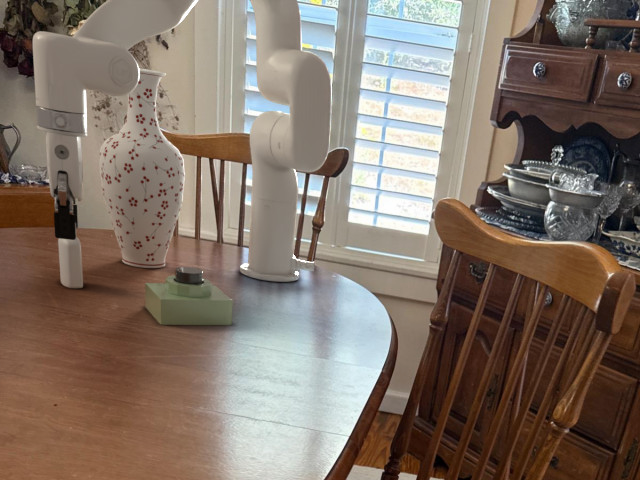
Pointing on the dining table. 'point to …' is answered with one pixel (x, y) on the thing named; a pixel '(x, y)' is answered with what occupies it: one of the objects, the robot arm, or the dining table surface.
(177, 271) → the dark grey button cap
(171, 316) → the button base
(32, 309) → the dining table surface
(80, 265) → the eye dropper bottle
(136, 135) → the vase
